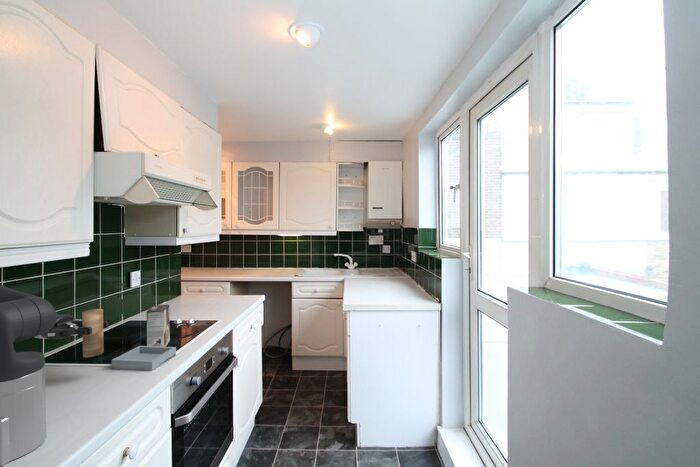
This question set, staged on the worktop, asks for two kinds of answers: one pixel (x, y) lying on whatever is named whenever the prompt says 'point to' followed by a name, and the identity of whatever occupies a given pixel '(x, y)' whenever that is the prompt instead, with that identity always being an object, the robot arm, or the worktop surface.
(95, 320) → the walnut dowel
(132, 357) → the tray
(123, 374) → the worktop surface
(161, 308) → the coffee box
